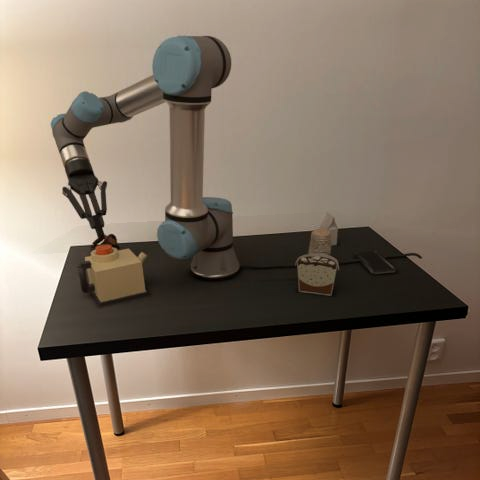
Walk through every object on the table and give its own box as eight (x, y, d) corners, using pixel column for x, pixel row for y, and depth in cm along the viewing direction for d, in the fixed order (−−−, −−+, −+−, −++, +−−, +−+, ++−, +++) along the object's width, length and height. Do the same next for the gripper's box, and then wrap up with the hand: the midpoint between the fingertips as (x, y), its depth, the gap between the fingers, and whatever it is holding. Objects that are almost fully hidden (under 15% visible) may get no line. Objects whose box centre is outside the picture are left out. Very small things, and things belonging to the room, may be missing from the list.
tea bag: (326, 245, 174) (328, 218, 169) (320, 239, 179) (321, 212, 174) (336, 244, 174) (338, 217, 169) (329, 238, 180) (331, 211, 175)
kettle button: (109, 248, 143) (109, 243, 142) (114, 253, 140) (113, 248, 139) (94, 251, 141) (93, 246, 140) (98, 257, 138) (97, 251, 137)
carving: (321, 273, 153) (323, 236, 147) (303, 266, 158) (304, 230, 152) (334, 267, 157) (337, 231, 151) (316, 261, 162) (318, 225, 156)
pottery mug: (121, 262, 165) (105, 244, 160) (99, 272, 169) (83, 254, 164) (129, 241, 174) (114, 223, 169) (108, 251, 177) (93, 233, 173)
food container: (340, 287, 145) (343, 255, 140) (336, 296, 140) (339, 263, 135) (298, 282, 148) (300, 250, 143) (294, 290, 143) (295, 258, 138)
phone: (377, 251, 165) (397, 268, 152) (376, 254, 166) (396, 272, 153) (354, 253, 164) (372, 271, 151) (354, 256, 165) (372, 274, 152)
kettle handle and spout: (143, 276, 154) (139, 242, 149) (158, 292, 144) (154, 257, 138) (78, 291, 146) (71, 256, 140) (89, 309, 136) (82, 272, 130)
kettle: (132, 279, 152) (127, 242, 146) (146, 294, 143) (141, 255, 137) (90, 288, 147) (83, 251, 141) (101, 305, 138) (94, 265, 132)
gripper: (98, 170, 149) (122, 239, 144) (54, 175, 144) (77, 248, 139) (100, 155, 142) (125, 227, 138) (54, 160, 137) (78, 235, 132)
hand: (101, 237), depth 138 cm, fingers closed
